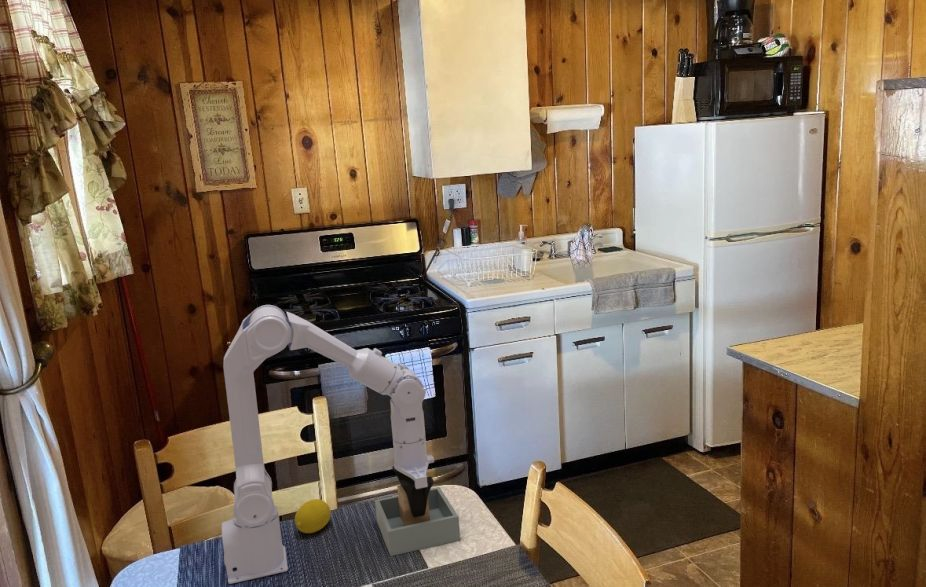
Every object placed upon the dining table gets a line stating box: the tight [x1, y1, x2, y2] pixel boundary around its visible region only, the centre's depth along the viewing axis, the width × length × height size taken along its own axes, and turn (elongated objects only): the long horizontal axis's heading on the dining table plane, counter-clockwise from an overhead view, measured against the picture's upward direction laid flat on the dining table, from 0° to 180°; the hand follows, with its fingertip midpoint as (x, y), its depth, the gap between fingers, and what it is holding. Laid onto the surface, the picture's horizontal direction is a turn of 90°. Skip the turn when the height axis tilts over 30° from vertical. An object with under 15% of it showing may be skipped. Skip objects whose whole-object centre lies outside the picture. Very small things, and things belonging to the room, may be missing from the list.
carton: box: [396, 484, 430, 526], centre depth 126 cm, size 4×4×6 cm
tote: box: [374, 486, 461, 557], centre depth 127 cm, size 12×12×4 cm
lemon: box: [294, 498, 332, 534], centre depth 130 cm, size 6×6×8 cm
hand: (415, 509), depth 127 cm, fingers closed on carton, 4 cm apart
